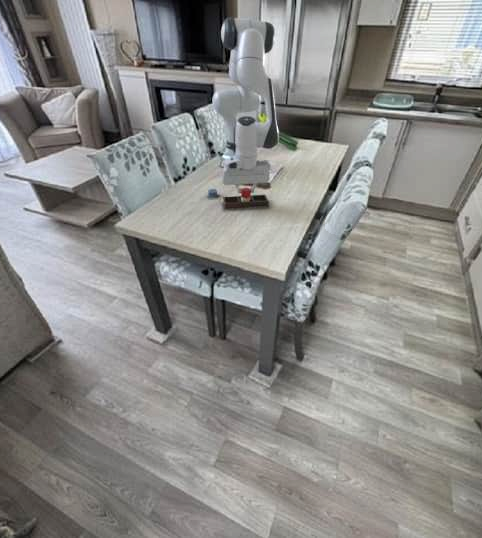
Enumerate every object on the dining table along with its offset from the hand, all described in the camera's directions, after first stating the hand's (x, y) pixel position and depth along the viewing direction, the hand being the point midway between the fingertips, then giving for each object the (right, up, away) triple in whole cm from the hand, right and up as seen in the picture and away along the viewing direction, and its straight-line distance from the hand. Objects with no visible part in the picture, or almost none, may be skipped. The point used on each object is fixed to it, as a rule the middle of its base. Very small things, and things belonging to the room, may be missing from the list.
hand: (245, 192), depth 132 cm
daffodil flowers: (+21, +52, +75) cm, 93 cm away
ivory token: (0, -4, +4) cm, 6 cm away
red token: (0, -1, +1) cm, 2 cm away
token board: (0, -5, +4) cm, 6 cm away
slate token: (-16, +1, +11) cm, 19 cm away
